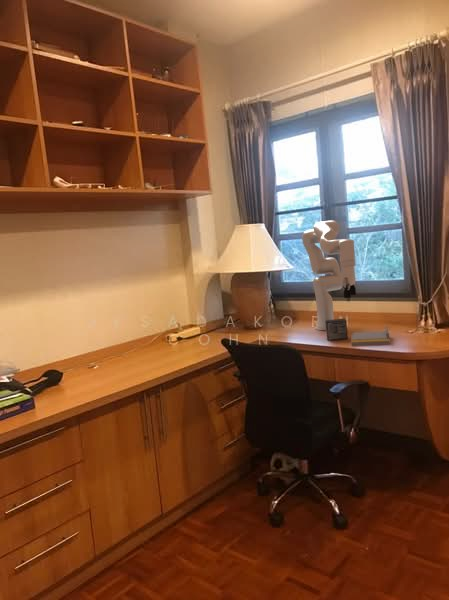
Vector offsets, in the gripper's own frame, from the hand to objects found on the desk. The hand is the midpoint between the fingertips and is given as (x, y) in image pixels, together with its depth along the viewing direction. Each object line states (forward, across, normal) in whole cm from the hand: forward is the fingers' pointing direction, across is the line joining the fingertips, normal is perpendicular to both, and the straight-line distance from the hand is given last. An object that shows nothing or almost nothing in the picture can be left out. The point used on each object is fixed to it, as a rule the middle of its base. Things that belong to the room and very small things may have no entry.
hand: (350, 296), depth 251 cm
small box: (+23, 0, -9) cm, 25 cm away
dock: (+23, +3, +10) cm, 25 cm away
